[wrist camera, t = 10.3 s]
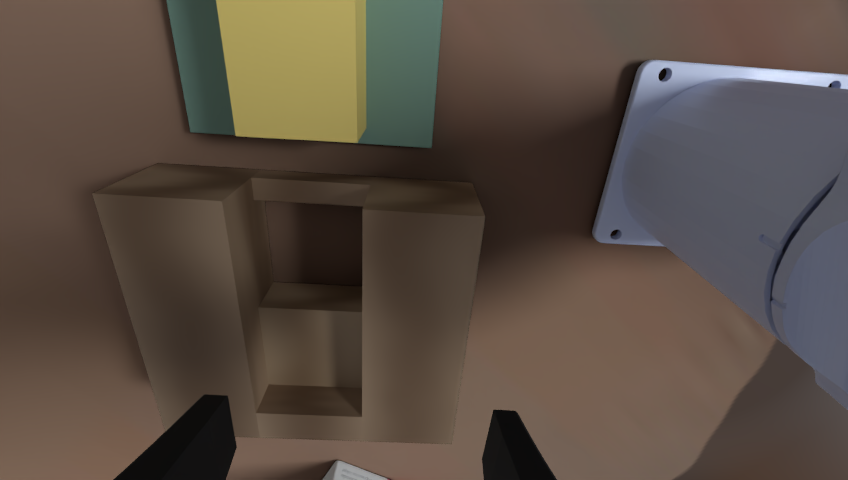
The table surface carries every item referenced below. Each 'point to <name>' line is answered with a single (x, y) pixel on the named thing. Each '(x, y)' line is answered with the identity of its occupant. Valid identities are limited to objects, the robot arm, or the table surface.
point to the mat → (385, 69)
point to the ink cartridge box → (350, 473)
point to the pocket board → (298, 301)
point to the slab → (296, 68)
